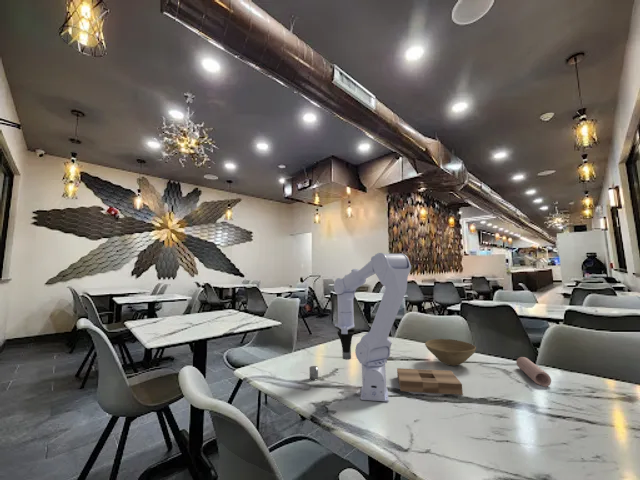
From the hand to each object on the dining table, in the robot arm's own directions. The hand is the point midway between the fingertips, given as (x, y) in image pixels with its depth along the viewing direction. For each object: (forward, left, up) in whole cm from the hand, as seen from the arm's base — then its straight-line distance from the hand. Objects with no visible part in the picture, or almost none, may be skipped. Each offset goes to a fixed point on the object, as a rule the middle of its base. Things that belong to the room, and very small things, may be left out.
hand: (346, 351), depth 99 cm
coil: (+11, -63, -10) cm, 65 cm away
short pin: (-2, +12, -9) cm, 15 cm away
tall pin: (0, 0, -2) cm, 3 cm away
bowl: (+21, -39, -10) cm, 46 cm away
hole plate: (-2, -26, -9) cm, 28 cm away
